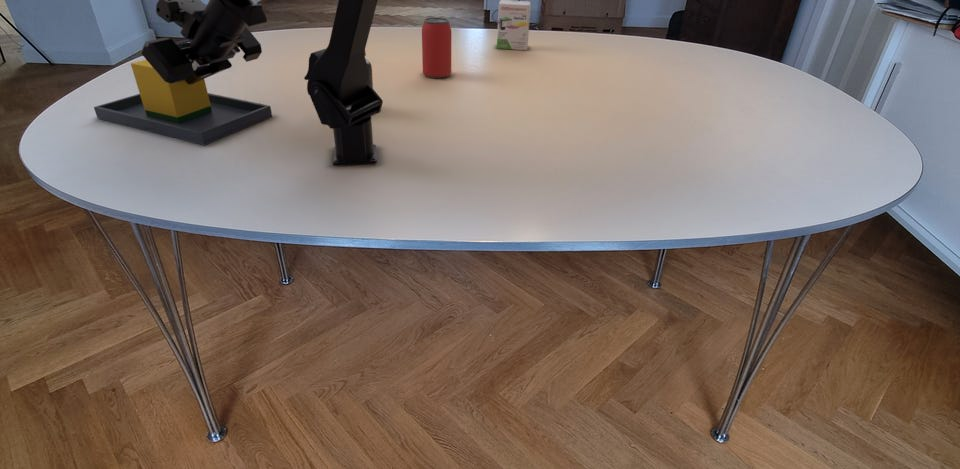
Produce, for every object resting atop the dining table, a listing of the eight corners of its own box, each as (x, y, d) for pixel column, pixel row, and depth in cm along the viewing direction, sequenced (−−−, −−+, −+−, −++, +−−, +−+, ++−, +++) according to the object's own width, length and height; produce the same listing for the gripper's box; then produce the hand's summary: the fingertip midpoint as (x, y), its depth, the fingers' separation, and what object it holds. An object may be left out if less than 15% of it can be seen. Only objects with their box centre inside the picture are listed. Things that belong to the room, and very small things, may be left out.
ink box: (496, 48, 149) (498, 2, 143) (497, 44, 153) (499, -1, 147) (527, 50, 148) (530, 4, 142) (527, 46, 152) (531, 1, 146)
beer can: (436, 69, 129) (435, 15, 122) (457, 75, 125) (457, 20, 119) (416, 74, 124) (415, 19, 118) (437, 80, 121) (437, 23, 114)
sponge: (212, 111, 98) (200, 60, 93) (179, 123, 92) (164, 69, 87) (180, 104, 100) (166, 54, 96) (146, 115, 95) (130, 63, 90)
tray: (272, 117, 98) (270, 105, 97) (204, 145, 86) (201, 132, 85) (172, 95, 106) (169, 84, 105) (97, 118, 94) (93, 107, 93)
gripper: (235, -30, 88) (201, 33, 98) (130, -18, 74) (102, 54, 83) (280, 26, 90) (242, 83, 99) (186, 49, 75) (152, 112, 85)
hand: (188, 81), depth 92 cm, fingers closed, pressing on sponge
